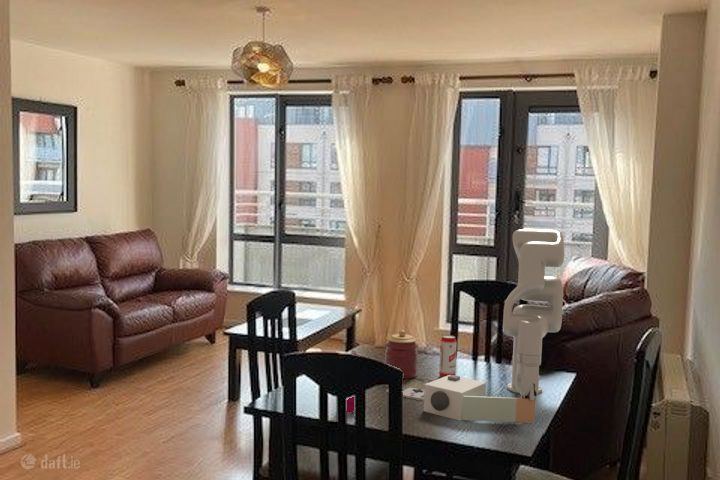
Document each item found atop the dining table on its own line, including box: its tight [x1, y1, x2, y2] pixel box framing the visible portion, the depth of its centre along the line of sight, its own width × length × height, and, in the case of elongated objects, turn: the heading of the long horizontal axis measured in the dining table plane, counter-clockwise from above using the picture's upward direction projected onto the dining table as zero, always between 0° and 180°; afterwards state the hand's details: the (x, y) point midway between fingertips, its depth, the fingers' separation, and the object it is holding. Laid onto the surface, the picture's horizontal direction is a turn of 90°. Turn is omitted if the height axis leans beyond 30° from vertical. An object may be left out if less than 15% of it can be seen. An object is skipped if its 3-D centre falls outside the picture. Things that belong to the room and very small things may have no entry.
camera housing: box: [423, 374, 487, 422], centre depth 230 cm, size 18×14×10 cm
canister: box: [384, 329, 420, 380], centre depth 273 cm, size 13×13×18 cm
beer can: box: [438, 334, 457, 378], centre depth 272 cm, size 6×6×16 cm
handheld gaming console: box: [402, 387, 424, 402], centre depth 246 cm, size 10×2×15 cm
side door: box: [462, 395, 537, 424], centre depth 219 cm, size 22×1×8 cm, turn 89°
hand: (526, 414), depth 223 cm, fingers closed
